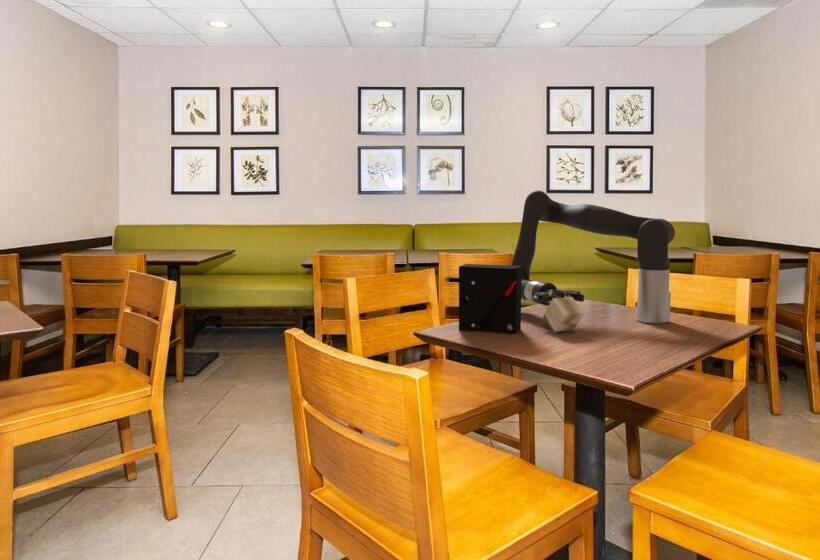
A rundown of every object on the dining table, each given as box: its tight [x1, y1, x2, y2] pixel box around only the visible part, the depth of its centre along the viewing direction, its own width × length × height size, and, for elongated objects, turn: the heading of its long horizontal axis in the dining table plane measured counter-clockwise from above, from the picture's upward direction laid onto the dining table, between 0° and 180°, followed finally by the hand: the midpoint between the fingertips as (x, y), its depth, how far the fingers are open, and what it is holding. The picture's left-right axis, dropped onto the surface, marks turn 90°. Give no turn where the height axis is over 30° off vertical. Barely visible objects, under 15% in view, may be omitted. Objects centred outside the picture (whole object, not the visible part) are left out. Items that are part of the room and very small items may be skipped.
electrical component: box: [458, 263, 522, 335], centre depth 170 cm, size 18×10×20 cm, turn 65°
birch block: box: [542, 296, 585, 335], centre depth 166 cm, size 7×7×8 cm
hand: (571, 299), depth 169 cm, fingers open, 8 cm apart
